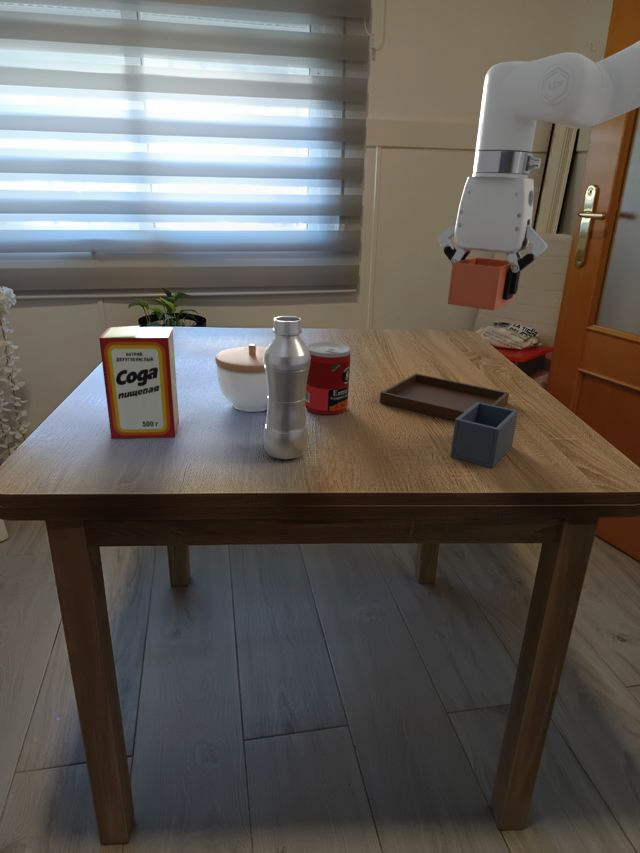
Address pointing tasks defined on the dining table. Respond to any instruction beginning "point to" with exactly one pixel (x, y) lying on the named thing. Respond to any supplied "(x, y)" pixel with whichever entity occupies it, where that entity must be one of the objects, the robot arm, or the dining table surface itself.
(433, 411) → the tray
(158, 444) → the dining table surface
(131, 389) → the baking soda box
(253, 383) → the lidded bowl
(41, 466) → the dining table surface
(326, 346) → the canned food
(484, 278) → the terracotta tub
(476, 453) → the grey tub
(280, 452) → the silver metal bottle
